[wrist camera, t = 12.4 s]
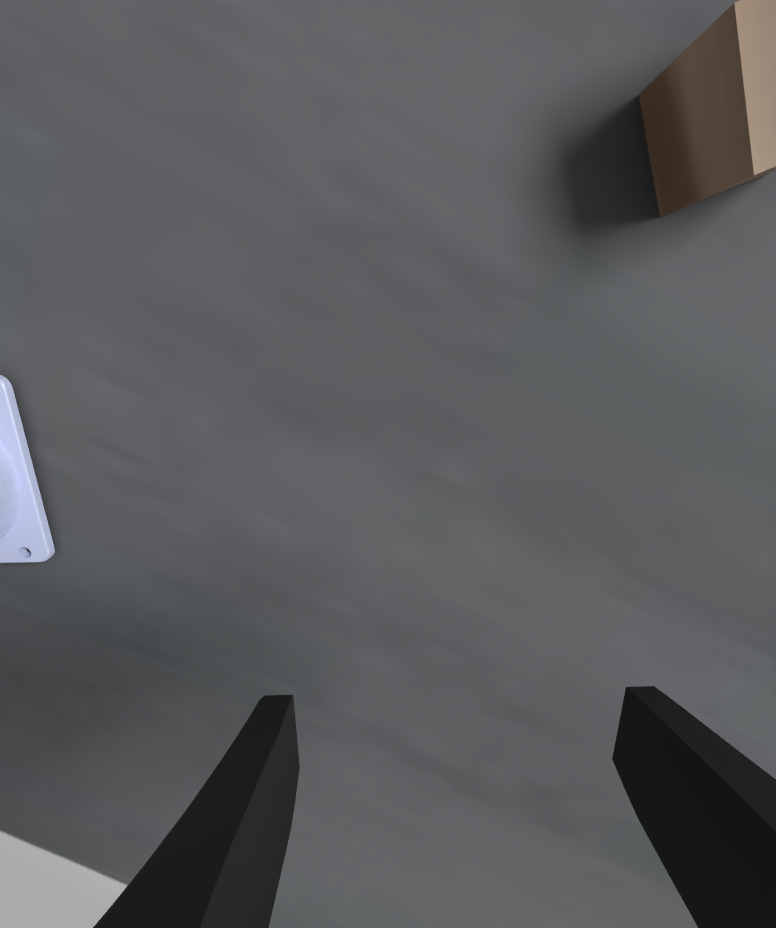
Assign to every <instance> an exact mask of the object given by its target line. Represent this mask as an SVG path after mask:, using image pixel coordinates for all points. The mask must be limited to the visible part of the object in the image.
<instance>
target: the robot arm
mask: <svg viewBox="0 0 776 928" xmlns="http://www.w3.org/2000/svg"><path fill="white" fill-rule="evenodd" d="M26 548H28V549H29V550H30V552H31V553H30V552H28V551H27V549H26ZM54 553H55V550H54V545H53V541H52V537H51V533H50V529H49V526H48V522H47V518H46V514H45V510H44V506H43V503H42V499H41V495H40V491H39V487H38V483H37V480H36V476H35V472H34V468H33V464H32V460H31V457H30V453H29V449H28V445H27V441H26V438H25V434H24V430H23V426H22V422H21V418H20V415H19V411H18V407H17V403H16V399H15V395H14V392H13V388H12V385H11V383H10V382H9V381H8V379H7V378H5V377H3V376H2V375H0V563H25V562H44V561H46V560H47V559H49V558H50V557H52V556H53V555H54ZM612 759H613V762H614V764H615V766H616V769H617V771H618V774H619V776H620V778H621V781H622V783H623V786H624V788H625V790H626V793H627V795H628V797H629V799H630V801H631V804H632V806H633V808H634V810H635V813H636V815H637V817H638V819H639V821H640V823H641V825H642V826H643V828H644V830H645V832H646V834H647V836H648V837H649V839H650V841H651V843H652V845H653V847H654V848H655V850H656V852H657V854H658V856H659V858H660V859H661V861H662V863H663V865H664V867H665V869H666V870H667V872H668V874H669V876H670V878H671V879H672V881H673V883H674V885H675V887H676V888H677V890H678V892H679V894H680V896H681V897H682V899H683V901H684V903H685V905H686V906H687V908H688V910H689V912H690V914H691V915H692V917H693V919H694V921H695V923H696V924H697V926H698V928H776V779H774V778H773V777H772V776H770V775H769V774H768V773H766V772H765V771H764V770H763V769H761V768H760V767H759V766H757V765H756V764H755V763H753V762H752V761H751V760H749V759H748V758H747V757H746V756H744V755H743V754H742V753H740V752H739V751H738V750H736V749H735V748H734V747H733V746H731V745H730V744H729V743H727V742H726V741H725V740H724V739H722V738H721V737H720V736H718V735H717V734H716V733H714V732H713V731H712V730H711V729H709V728H708V727H707V726H705V725H704V724H703V723H702V722H700V721H699V720H698V719H696V718H695V717H694V716H693V715H691V714H690V713H689V712H687V711H686V710H685V709H684V708H682V707H681V706H680V705H678V704H677V703H676V702H674V701H673V700H672V699H670V698H669V697H668V696H667V695H665V694H664V693H662V692H661V691H660V690H658V689H657V688H656V687H654V686H647V687H626V690H625V696H624V701H623V706H622V711H621V716H620V722H619V727H618V732H617V737H616V743H615V748H614V753H613V758H612ZM299 768H300V767H299V756H298V745H297V733H296V722H295V711H294V700H293V695H270V696H264V697H262V698H261V699H260V700H259V702H258V704H257V705H256V707H255V709H254V710H253V712H252V714H251V715H250V717H249V718H248V720H247V722H246V723H245V725H244V726H243V728H242V729H241V731H240V733H239V734H238V736H237V737H236V739H235V740H234V742H233V743H232V745H231V746H230V748H229V749H228V751H227V752H226V754H225V755H224V757H223V758H222V760H221V761H220V763H219V764H218V766H217V767H216V769H215V770H214V771H213V773H212V774H211V776H210V777H209V779H208V780H207V781H206V783H205V784H204V786H203V787H202V789H201V790H200V791H199V793H198V794H197V796H196V797H195V798H194V800H193V801H192V803H191V804H190V805H189V807H188V808H187V810H186V811H185V812H184V814H183V815H182V816H181V818H180V819H179V820H178V822H177V823H176V824H175V826H174V827H173V828H172V830H171V831H170V832H169V833H168V835H167V836H166V837H165V839H164V840H163V841H162V843H161V844H160V845H159V847H158V848H157V849H156V851H155V852H154V853H153V855H152V856H151V857H150V858H149V860H148V861H147V862H146V864H145V865H144V866H143V868H142V869H141V870H140V871H139V873H138V874H137V875H136V876H135V878H134V879H133V880H132V881H131V883H130V884H129V885H128V886H127V887H126V889H125V890H124V891H123V892H122V894H121V895H120V896H119V897H118V899H117V900H116V901H115V902H114V903H113V905H112V906H111V907H110V908H109V910H108V911H107V912H106V913H105V914H104V915H103V917H102V918H101V919H100V920H99V921H98V923H97V924H96V925H95V926H94V927H93V928H268V927H269V923H270V918H271V914H272V910H273V905H274V901H275V897H276V892H277V888H278V884H279V879H280V875H281V870H282V866H283V862H284V857H285V853H286V848H287V844H288V839H289V835H290V830H291V825H292V818H293V811H294V805H295V798H296V790H297V783H298V775H299Z"/></svg>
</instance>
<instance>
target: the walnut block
mask: <svg viewBox="0 0 776 928" xmlns="http://www.w3.org/2000/svg"><path fill="white" fill-rule="evenodd" d="M639 101H640V106H641V112H642V118H643V123H644V129H645V135H646V140H647V146H648V152H649V157H650V163H651V168H652V174H653V180H654V185H655V191H656V197H657V202H658V208H659V214H660V218H661V217H663V216H665V215H668V214H670V213H673V212H675V211H678V210H680V209H682V208H685V207H687V206H690V205H692V204H695V203H697V202H699V201H702V200H704V199H707V198H709V197H712V196H714V195H717V194H719V193H721V192H724V191H726V190H729V189H731V188H734V187H736V186H738V185H741V184H743V183H746V182H748V181H751V180H753V179H755V178H758V177H760V176H763V175H765V174H768V173H770V172H772V171H775V170H776V0H740V1H738V2H736V3H734V4H733V5H732V6H731V7H730V8H729V9H728V10H727V11H726V12H725V13H724V14H722V15H721V16H720V17H719V18H718V19H717V20H716V21H715V22H714V23H713V24H712V25H711V26H710V27H709V28H708V29H707V30H706V31H705V32H704V33H703V34H702V35H701V36H700V37H698V38H697V39H696V40H695V41H694V42H693V43H692V44H691V45H690V46H689V47H688V48H687V49H686V50H685V51H684V52H683V53H682V54H681V55H680V56H679V57H678V58H677V59H676V60H675V61H673V62H672V63H671V64H670V65H669V66H668V67H667V68H666V69H665V70H664V71H663V72H662V73H661V74H660V75H659V76H658V77H657V78H656V79H655V80H654V81H653V82H652V83H651V84H650V85H648V86H647V87H646V88H645V89H644V90H643V91H642V92H641V93H640V94H639Z"/></svg>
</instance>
